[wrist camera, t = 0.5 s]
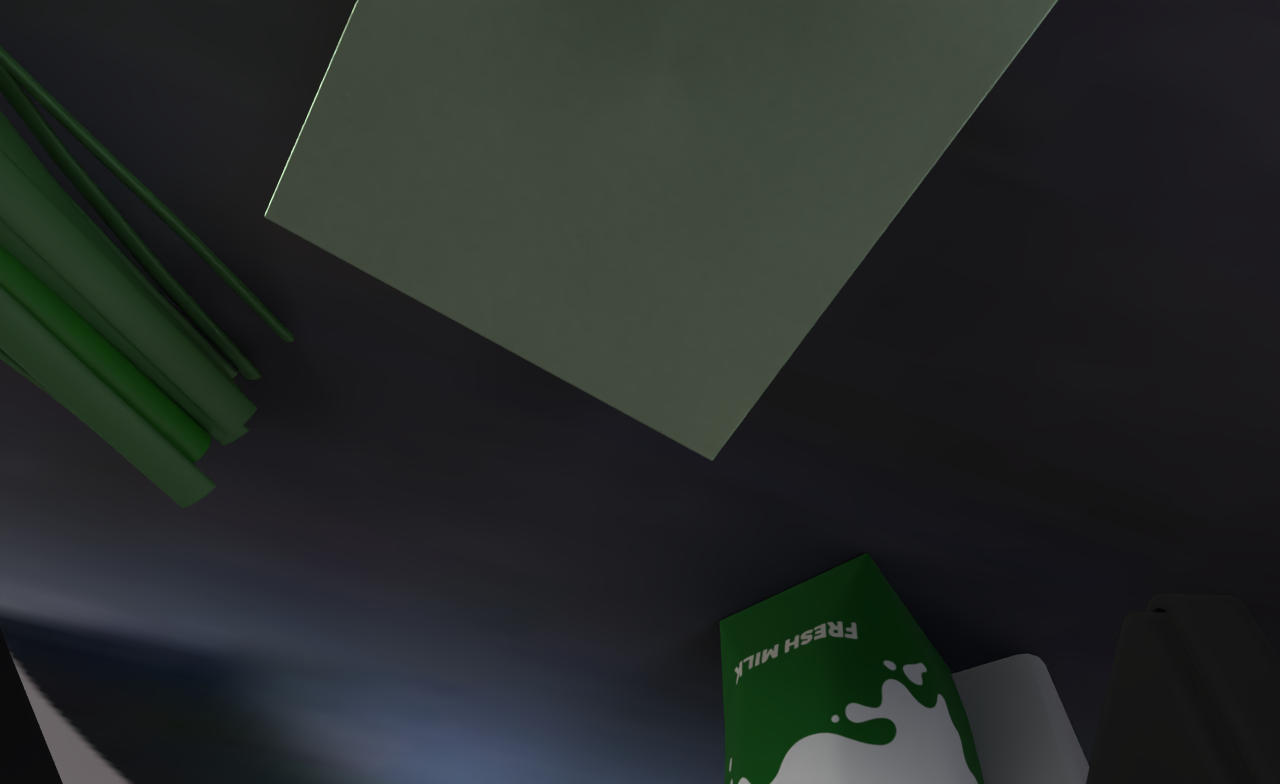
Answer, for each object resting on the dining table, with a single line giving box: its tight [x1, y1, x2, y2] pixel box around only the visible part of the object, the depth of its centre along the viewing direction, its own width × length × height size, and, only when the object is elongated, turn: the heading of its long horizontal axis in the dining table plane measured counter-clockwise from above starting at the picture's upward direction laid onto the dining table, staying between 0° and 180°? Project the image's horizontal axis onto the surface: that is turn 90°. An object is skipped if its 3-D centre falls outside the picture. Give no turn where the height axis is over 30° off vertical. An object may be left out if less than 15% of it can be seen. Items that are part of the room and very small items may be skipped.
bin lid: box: [264, 0, 1058, 461], centre depth 22 cm, size 16×13×5 cm
